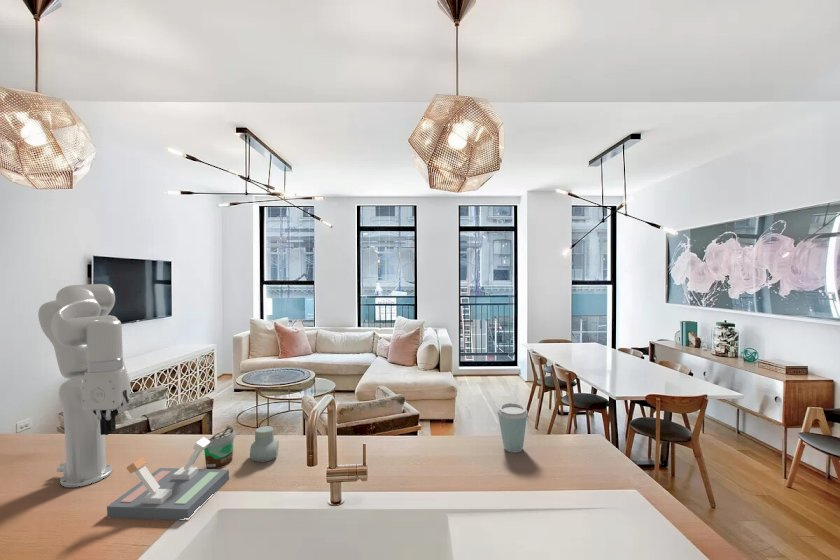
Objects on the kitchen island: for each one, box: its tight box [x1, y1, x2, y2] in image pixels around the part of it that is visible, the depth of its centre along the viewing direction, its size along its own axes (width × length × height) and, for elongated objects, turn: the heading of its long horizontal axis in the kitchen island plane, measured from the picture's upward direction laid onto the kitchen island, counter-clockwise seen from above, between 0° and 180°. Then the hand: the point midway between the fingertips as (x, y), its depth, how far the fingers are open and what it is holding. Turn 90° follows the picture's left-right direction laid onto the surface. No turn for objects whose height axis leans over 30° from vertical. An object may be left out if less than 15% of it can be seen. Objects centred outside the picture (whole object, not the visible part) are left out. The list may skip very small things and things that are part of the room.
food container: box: [203, 425, 237, 469], centre depth 136 cm, size 12×6×10 cm, turn 168°
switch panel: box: [106, 466, 230, 521], centre depth 116 cm, size 22×20×4 cm
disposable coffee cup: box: [496, 402, 528, 453], centre depth 145 cm, size 11×11×15 cm
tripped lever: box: [126, 456, 160, 494], centre depth 110 cm, size 2×4×10 cm
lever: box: [183, 437, 210, 471], centre depth 122 cm, size 2×4×10 cm
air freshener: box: [249, 425, 280, 463], centre depth 139 cm, size 11×8×10 cm
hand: (108, 432), depth 110 cm, fingers closed
